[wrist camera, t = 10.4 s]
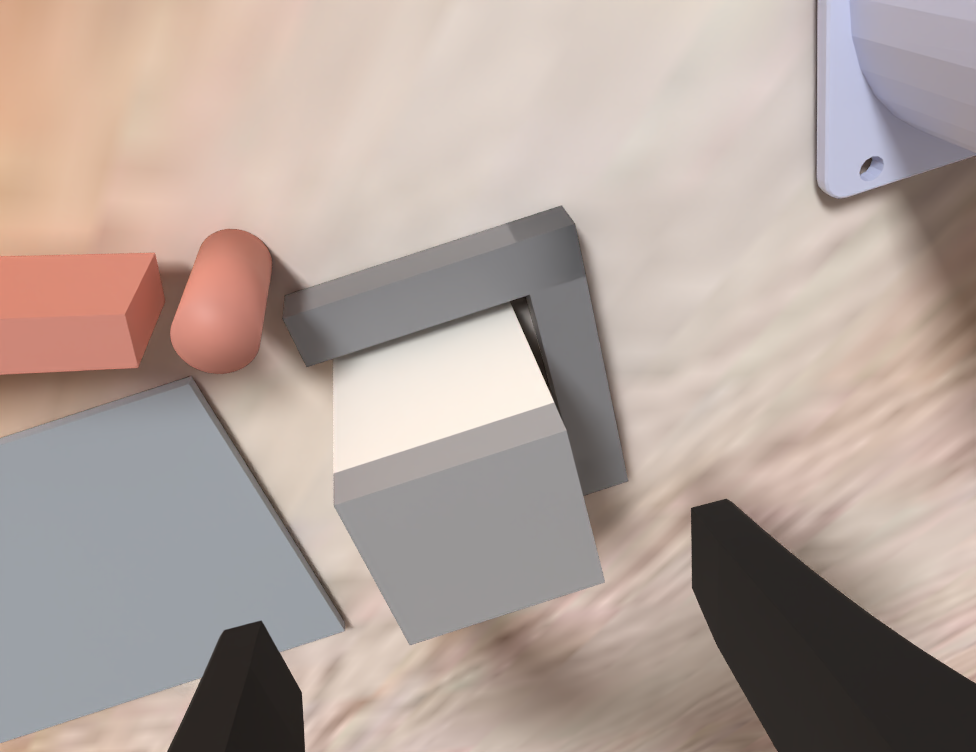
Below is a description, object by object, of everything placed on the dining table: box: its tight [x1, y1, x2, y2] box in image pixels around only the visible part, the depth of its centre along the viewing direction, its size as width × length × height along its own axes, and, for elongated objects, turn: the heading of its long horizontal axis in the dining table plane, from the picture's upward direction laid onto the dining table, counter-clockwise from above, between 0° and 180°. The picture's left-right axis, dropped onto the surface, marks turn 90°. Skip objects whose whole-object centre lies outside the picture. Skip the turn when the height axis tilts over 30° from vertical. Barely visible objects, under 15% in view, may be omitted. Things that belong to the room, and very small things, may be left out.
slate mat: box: [0, 376, 345, 743], centre depth 18 cm, size 12×9×1 cm
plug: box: [333, 301, 605, 645], centre depth 15 cm, size 4×4×5 cm
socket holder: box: [282, 206, 628, 496], centre depth 17 cm, size 6×7×1 cm
